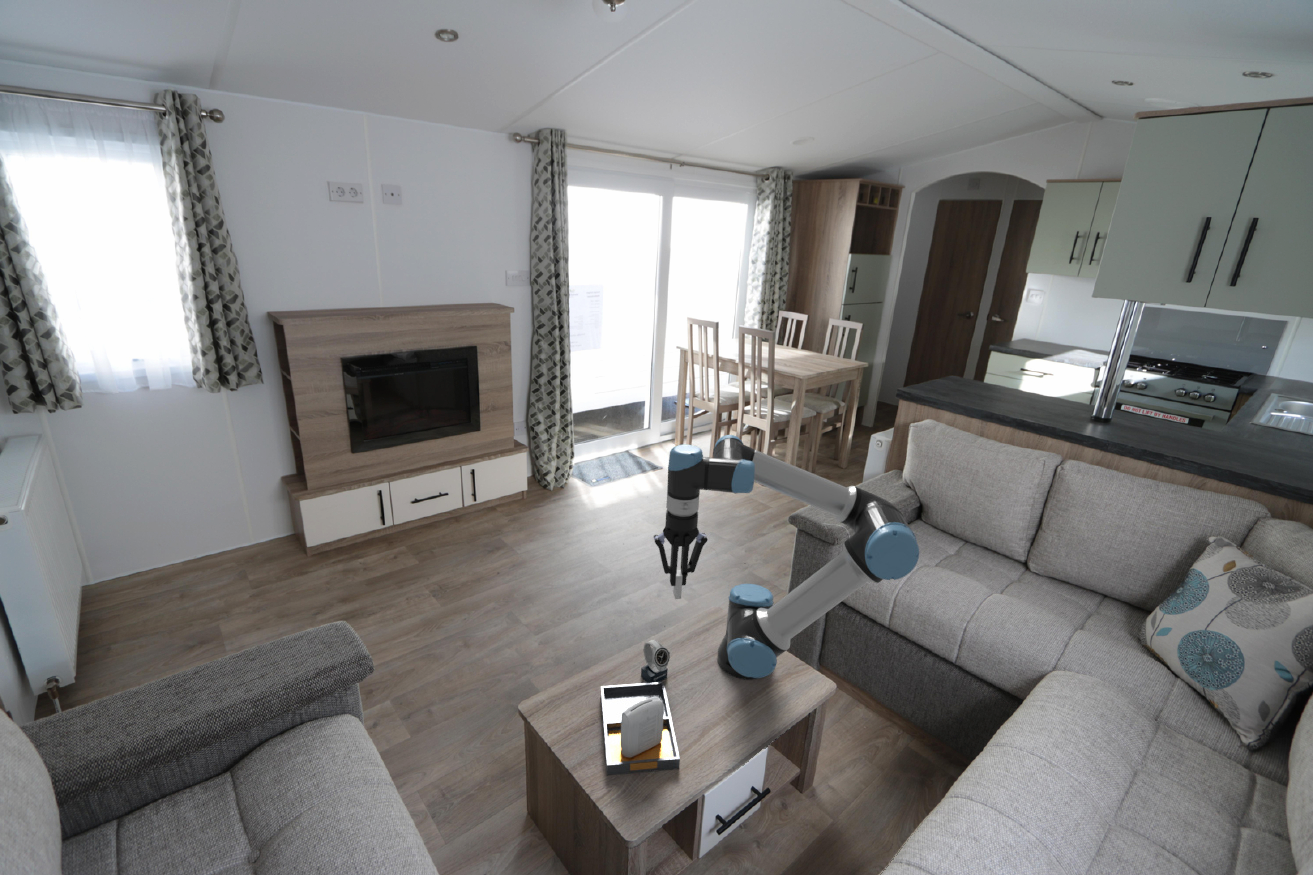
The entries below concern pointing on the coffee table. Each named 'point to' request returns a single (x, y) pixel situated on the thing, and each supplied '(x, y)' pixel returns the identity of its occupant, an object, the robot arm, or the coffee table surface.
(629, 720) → the photo printer
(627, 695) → the tray
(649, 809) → the coffee table surface
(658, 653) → the watch
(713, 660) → the coffee table surface
